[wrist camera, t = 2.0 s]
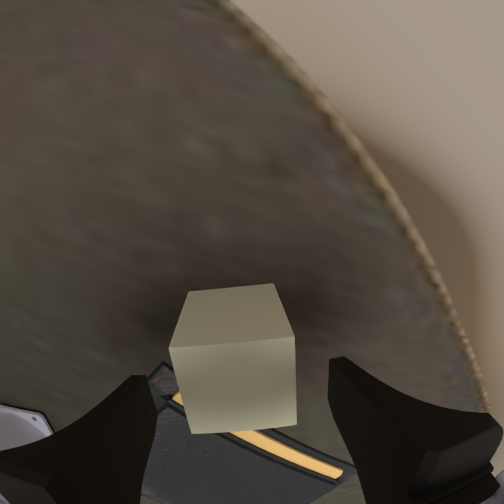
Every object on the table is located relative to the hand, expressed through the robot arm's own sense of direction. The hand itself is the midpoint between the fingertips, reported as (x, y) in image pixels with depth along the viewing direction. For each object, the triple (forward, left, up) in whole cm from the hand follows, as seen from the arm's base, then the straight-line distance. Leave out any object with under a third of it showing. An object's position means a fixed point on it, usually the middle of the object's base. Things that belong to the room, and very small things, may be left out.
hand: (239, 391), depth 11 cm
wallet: (-3, -14, -7) cm, 16 cm away
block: (0, 0, -6) cm, 6 cm away
